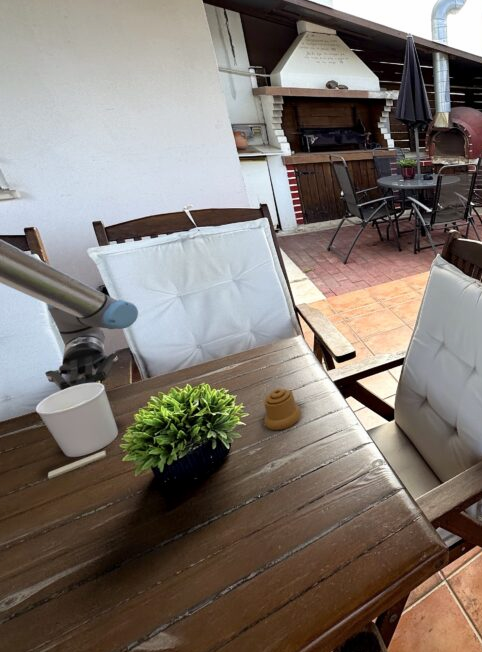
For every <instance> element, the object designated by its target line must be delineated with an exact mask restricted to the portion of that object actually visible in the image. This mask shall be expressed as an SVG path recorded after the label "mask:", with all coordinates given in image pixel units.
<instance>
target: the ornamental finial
mask: <svg viewBox="0 0 482 652" xmlns="http://www.w3.org/2000/svg"><path fill="white" fill-rule="evenodd" d="M263 403H264V408H265V413H266V414H265V417H264V418H263V419H264V422H263V423H264V425H265V427H266V428H267V429H269V430H272V431H282V430H285V429H288V428H290V427H292V426H293V425H295V424H296V423H297V422H298V421H299V420H300V418H301V416H302V409H301V407H300V406H299V405H298V404H296V401H295V397H294V393H293V391H292V390H289V389H286V388H285V389H284V388H277V389H274V390H273V391H271V392H270V393H269V394H268V395H267V396H266V397H265V399H264V401H263Z"/></svg>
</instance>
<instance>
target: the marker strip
mask: <svg viewBox="0 0 482 652" xmlns="http://www.w3.org/2000/svg"><path fill="white" fill-rule="evenodd" d="M106 457H107V451H106V450H102V451H100V452H97V453H95V454H92V455H89V456H87V457H84V458H82V459H79V460H76V461H74V462H71V463H69V464H66V465H64V466H61V467H59V468H56V469H54V470H51V471H49V472H47V473H48V474H47V478H48V480H51V479H53V478H56V477H58V476H60V475H63V474H67V473H68V472H70V471H73V470H76V469H79V468H81V467H84V466H86V465H88V464H90V463H91V464H92V463H93V462H95V461H99V460H101V459H104V458H106Z"/></svg>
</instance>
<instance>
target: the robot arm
mask: <svg viewBox="0 0 482 652" xmlns="http://www.w3.org/2000/svg"><path fill="white" fill-rule="evenodd" d="M0 284H2V285H4V286H6V287H9V288H11V289H14V290H15V291H18V292H20V293H23V294H24V295H27V296H29V297H31V298H34V299H36V300H39V301H40V302H43V303H45V304H46V306H47V310H48V311H49V313H50V315H51V317H52V320H53V321H54V323H55V326H56V328H57V330H58V332H59V335H60V338H61V340H62V342H63V344H64V351H63V357H62V364H61V365H60V366H59V367H58V369H56V370H48V371H45V372H44V374H45V376H46V378H47V380H48V382H49V383H54V384H55V385H56V386H57V388H59V389H60V391H61V390H64V389H66V388H69V387H72V386H76V385H80V384H85V383H98V382H103V381H106V380H107V378H108V377H109V375H110V373H111V371H112V370H113V368H114V367H115V365H117V364H118V363H119V362H120V360H119V357H118V355H117V353H116V352H113V353H111V354H109V355H106V354H105V339H106V337H105V333H104V331H103V330H102V329H108V330H122V329H123V330H124V329H127V328H129V327H131V326H132V325H134V323H135V322H136V320H138V317H139V310H138V307H137V306H136V305H135V304H134V303H133V302H130V301H125V300H121V299H120V300H118V299H115V298H114V297H111V296H109V295H108V294H105V293H103V292H101V291H99V290H98V289H96V288H94V287H92V286H90V285H88V284H86V283H84V282H83V281H81V280H78V279H76V278H75V277H73V276H71V275H69V274H67V273H65V272H64V271H61V270H60V269H57V268H56V267H54V266H52V265H50V264H48V263H46V262H44V261H43V260H40V259H39V258H37V257H35V256H33V255H31V254H29V253H27V252H25V251H24V250H21V249H20V248H18V247H16V246H14V245H12V244H10V243H8V242H7V241H4V240H3V239H1V238H0ZM63 375H65V376H66V375H67V376H69V381H67V380H66V379H65V378H64V376H63ZM83 375H84V377H83Z"/></svg>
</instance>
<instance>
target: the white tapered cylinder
mask: <svg viewBox="0 0 482 652" xmlns="http://www.w3.org/2000/svg"><path fill="white" fill-rule="evenodd" d="M105 388H106V387H105V385H104V384H103V383H101V382H96V383H85V384H80V385H76V386H72V387H69V388H66V389H64V390H61V389H60V390H59V391H56V392H54V393H52V394H50V395H48V396H47V397H45V398H44V399H42V400H41V401H40V402H39V403H37V405H36V407H35V412H36V414H37V415H39V418H40V419H41V420H42V422H43V423H44V425H45V427H46V428H47V430H48V431H49V433H50V434H51V436H52V437H53V439H54V440H55V442H56V444H57V445H58V447H59V448H60V450H61V451H62V453H63V454H64V455H65V456H66V457H70V458H78V457H83V456H84V457H85V456H87V455H91V454H93V453H95V452H97V451H100V450H102V449H103V448H105V447H107V446H108V445H110V444H111V443H113V442H114V441H115V439H116V438H117V437H118V435H119V429H118V426H117V423H116V420H115V417H114V413H113V411H112V407H111V404H110V401H109V398H108V396H107V391H106V389H105Z"/></svg>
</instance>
